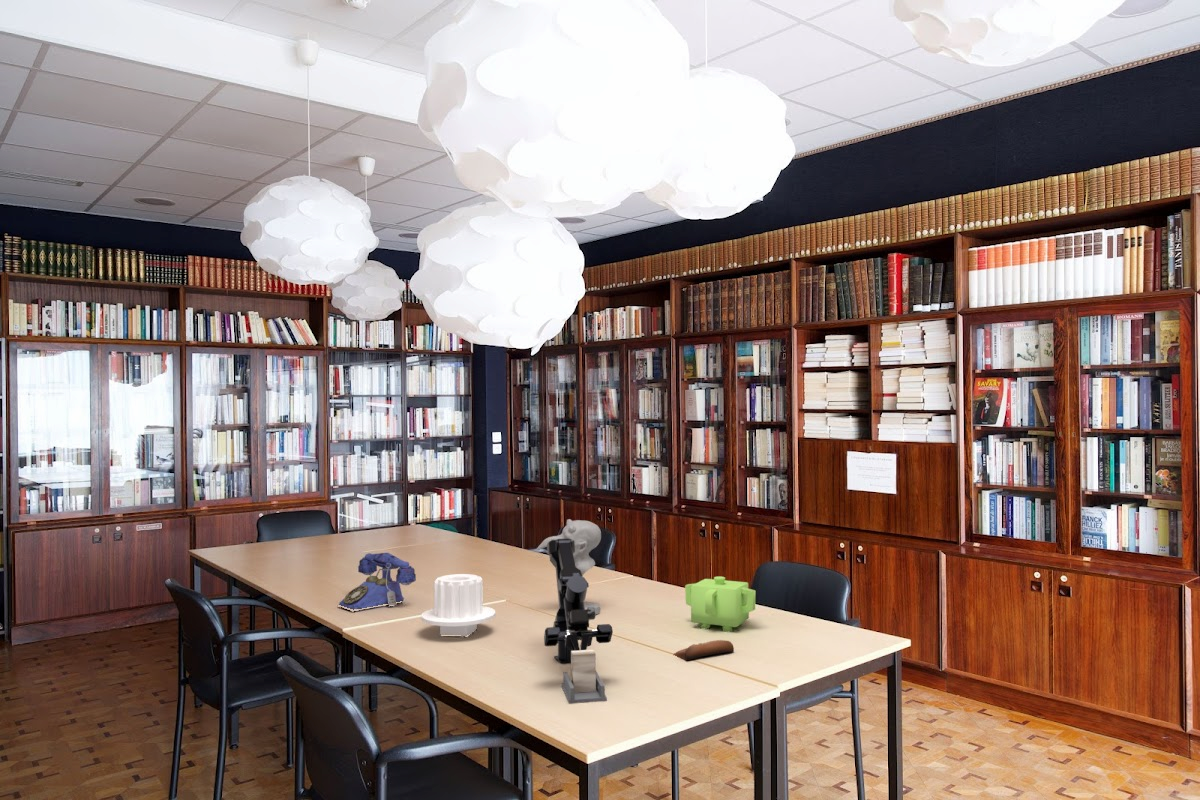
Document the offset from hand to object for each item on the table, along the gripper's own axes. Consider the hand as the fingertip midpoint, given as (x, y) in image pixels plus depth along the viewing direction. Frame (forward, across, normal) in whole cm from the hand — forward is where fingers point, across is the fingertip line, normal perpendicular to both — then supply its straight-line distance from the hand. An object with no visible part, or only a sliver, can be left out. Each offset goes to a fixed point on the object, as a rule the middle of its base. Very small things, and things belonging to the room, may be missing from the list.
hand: (581, 662), depth 226 cm
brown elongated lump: (-12, +42, +24) cm, 50 cm away
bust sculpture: (-56, +10, +66) cm, 87 cm away
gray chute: (+7, 0, +4) cm, 8 cm away
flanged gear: (-42, -32, +52) cm, 75 cm away
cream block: (+6, 0, +3) cm, 7 cm away
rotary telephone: (-80, -66, +89) cm, 137 cm away
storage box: (-35, +58, +45) cm, 81 cm away
